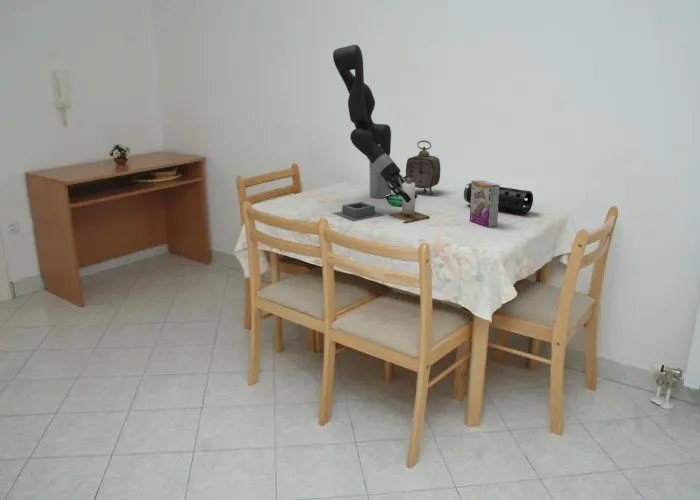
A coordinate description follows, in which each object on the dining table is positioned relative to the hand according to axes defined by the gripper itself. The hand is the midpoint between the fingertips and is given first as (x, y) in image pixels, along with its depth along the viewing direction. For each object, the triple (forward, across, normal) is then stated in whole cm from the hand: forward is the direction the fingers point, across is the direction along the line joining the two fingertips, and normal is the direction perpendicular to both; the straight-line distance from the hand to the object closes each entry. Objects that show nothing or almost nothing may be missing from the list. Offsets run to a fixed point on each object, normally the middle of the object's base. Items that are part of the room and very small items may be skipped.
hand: (412, 199), depth 237 cm
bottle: (+3, 0, +5) cm, 6 cm away
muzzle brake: (+24, +29, -12) cm, 40 cm away
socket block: (-9, -8, +20) cm, 23 cm away
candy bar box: (+25, +6, -14) cm, 29 cm away
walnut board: (+4, 0, +7) cm, 8 cm away
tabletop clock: (-5, +43, +16) cm, 46 cm away
